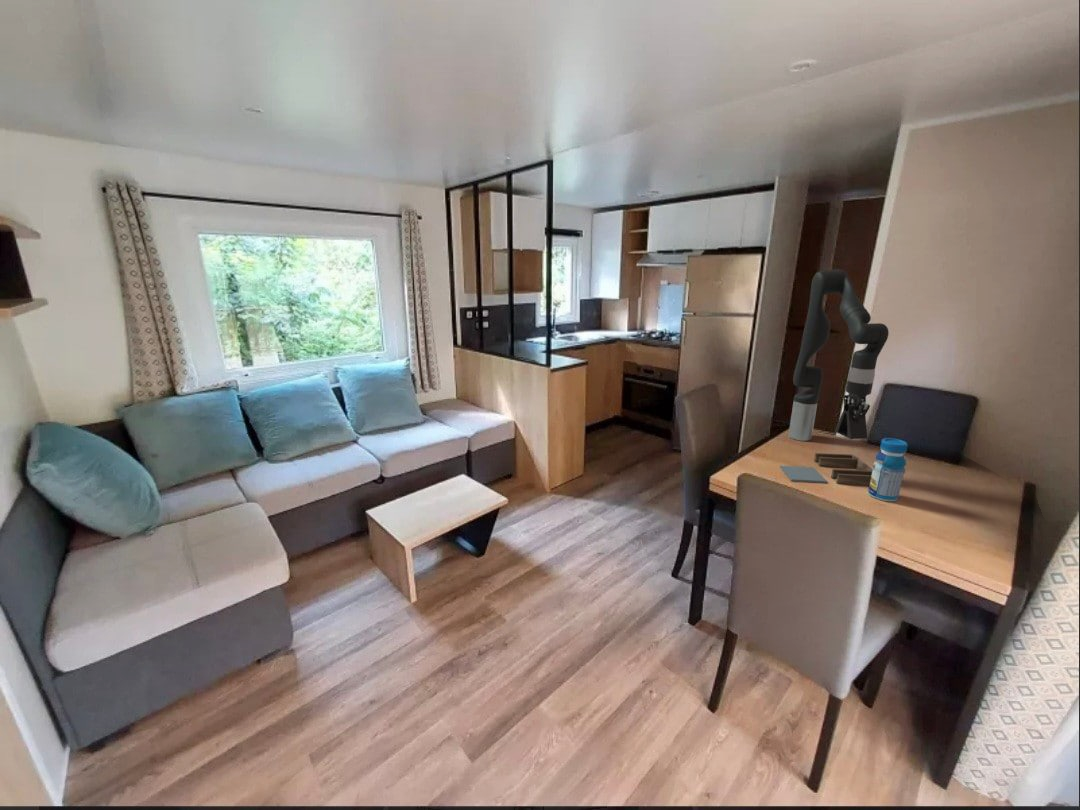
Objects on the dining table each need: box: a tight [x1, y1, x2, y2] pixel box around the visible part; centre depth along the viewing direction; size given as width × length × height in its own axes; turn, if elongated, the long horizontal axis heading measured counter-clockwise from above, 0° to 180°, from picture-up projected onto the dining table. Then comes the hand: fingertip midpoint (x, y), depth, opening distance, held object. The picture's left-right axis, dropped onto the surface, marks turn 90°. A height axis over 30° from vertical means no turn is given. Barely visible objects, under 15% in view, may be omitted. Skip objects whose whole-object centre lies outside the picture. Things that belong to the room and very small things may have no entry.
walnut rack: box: [813, 452, 873, 486], centre depth 166 cm, size 20×14×4 cm
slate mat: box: [779, 465, 828, 484], centre depth 165 cm, size 12×12×1 cm
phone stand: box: [834, 403, 868, 440], centre depth 160 cm, size 9×6×12 cm, turn 0°
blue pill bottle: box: [867, 437, 909, 502], centre depth 146 cm, size 8×8×20 cm
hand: (851, 425), depth 161 cm, fingers closed on phone stand, 3 cm apart
